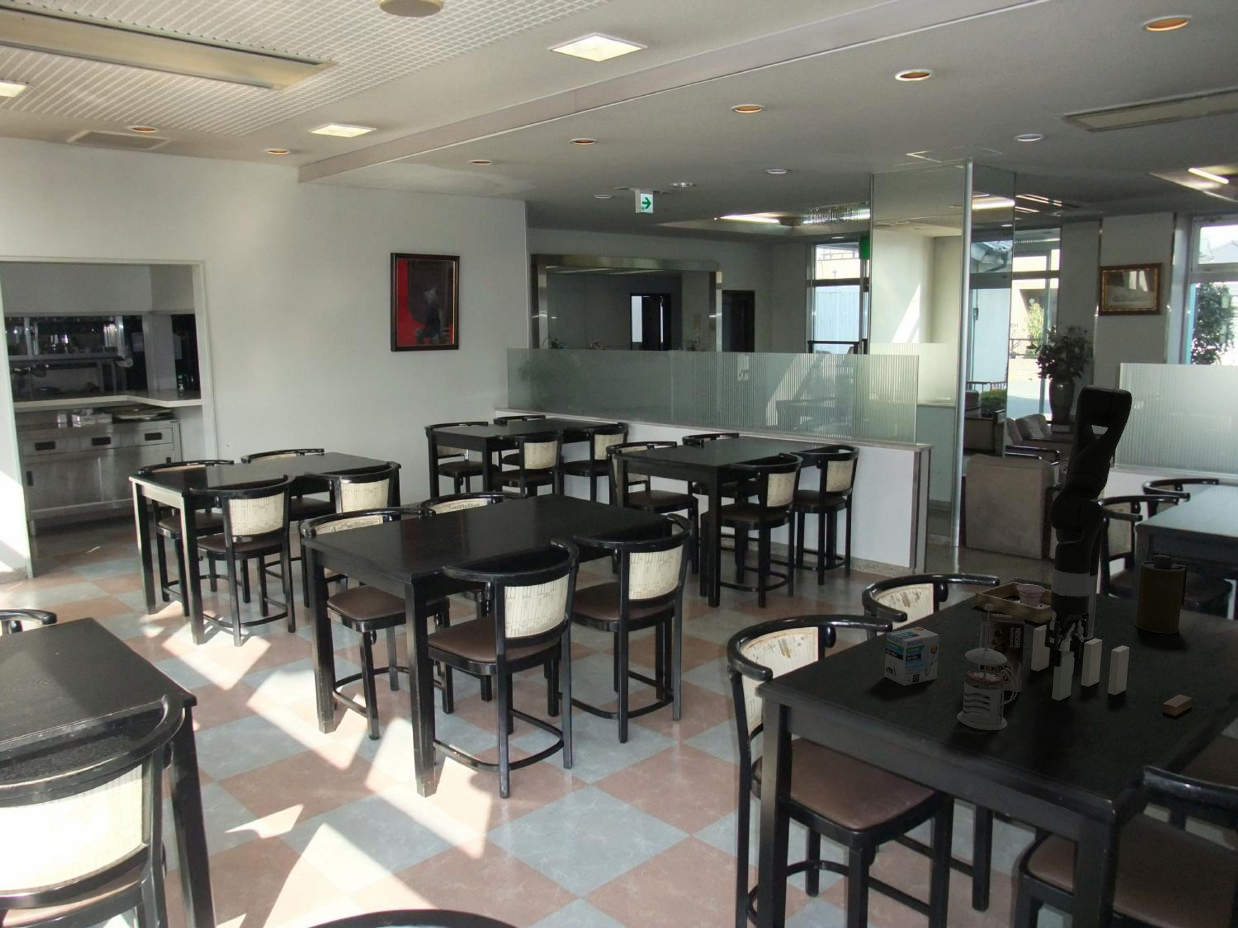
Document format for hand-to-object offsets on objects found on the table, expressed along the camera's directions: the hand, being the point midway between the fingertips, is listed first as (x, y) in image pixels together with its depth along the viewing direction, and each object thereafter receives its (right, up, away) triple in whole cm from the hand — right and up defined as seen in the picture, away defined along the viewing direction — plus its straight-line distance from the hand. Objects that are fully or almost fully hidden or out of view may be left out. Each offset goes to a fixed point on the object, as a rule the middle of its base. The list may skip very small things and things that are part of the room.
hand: (1064, 661), depth 204 cm
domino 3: (+10, -7, +9) cm, 15 cm away
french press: (-22, -10, -11) cm, 27 cm away
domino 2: (+7, -6, +14) cm, 17 cm away
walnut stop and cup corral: (+20, -3, +35) cm, 41 cm away
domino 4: (+14, -8, +5) cm, 17 cm away
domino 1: (+3, -6, +19) cm, 20 cm away
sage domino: (0, -8, +2) cm, 8 cm away
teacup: (+21, +1, +65) cm, 69 cm away
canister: (+48, -1, +48) cm, 68 cm away
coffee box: (-11, -7, +8) cm, 16 cm away
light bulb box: (-30, -7, +13) cm, 33 cm away
